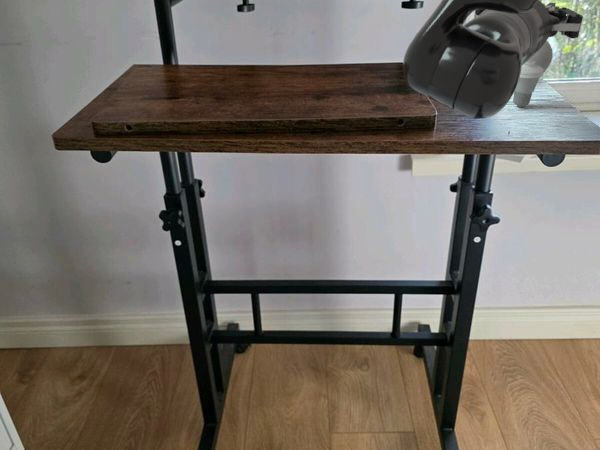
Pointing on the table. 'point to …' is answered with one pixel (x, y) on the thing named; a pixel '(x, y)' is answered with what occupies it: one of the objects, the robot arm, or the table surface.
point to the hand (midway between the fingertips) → (541, 10)
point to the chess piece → (531, 68)
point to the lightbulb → (528, 84)
